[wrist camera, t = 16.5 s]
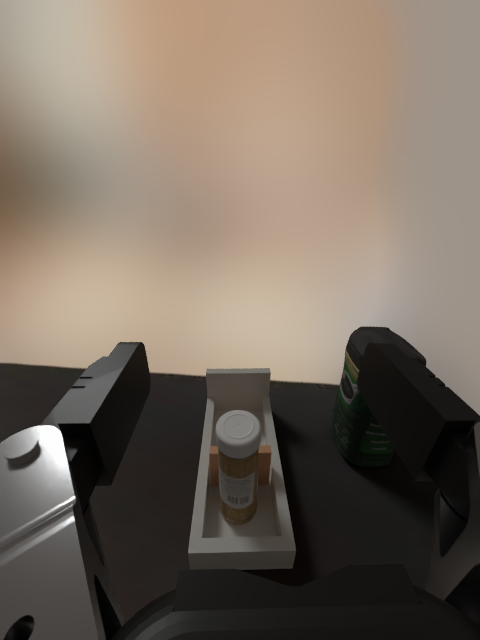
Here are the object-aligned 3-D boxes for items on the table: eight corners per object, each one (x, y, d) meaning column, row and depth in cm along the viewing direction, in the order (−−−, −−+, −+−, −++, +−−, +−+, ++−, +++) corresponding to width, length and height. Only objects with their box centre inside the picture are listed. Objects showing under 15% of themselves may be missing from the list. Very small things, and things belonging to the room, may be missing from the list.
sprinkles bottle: (261, 493, 33) (266, 414, 27) (250, 533, 29) (253, 451, 23) (227, 481, 34) (225, 403, 28) (212, 518, 30) (207, 436, 24)
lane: (292, 568, 27) (301, 521, 23) (190, 571, 26) (183, 524, 23) (266, 407, 47) (269, 368, 43) (209, 408, 46) (206, 369, 43)
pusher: (268, 484, 33) (271, 452, 31) (211, 485, 33) (209, 453, 30) (262, 433, 41) (264, 403, 38) (215, 434, 40) (213, 404, 38)
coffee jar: (400, 471, 36) (447, 360, 28) (342, 470, 36) (373, 359, 28) (370, 417, 45) (399, 321, 37) (324, 416, 45) (343, 320, 37)
